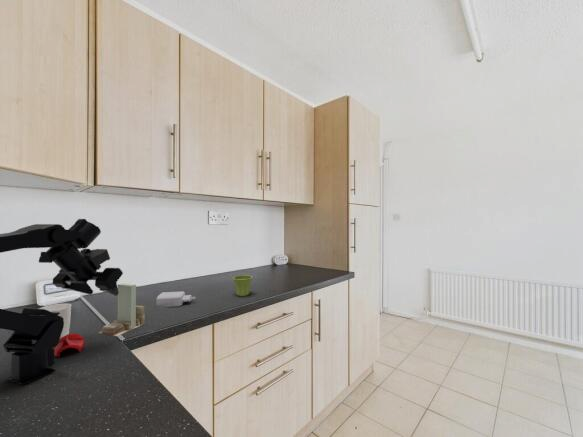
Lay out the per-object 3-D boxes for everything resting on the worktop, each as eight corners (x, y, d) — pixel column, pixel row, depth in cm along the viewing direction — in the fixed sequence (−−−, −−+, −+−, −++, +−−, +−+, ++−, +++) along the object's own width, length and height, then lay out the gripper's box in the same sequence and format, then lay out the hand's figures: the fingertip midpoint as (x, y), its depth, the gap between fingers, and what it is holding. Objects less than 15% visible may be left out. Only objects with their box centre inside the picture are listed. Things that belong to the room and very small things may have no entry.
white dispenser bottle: (194, 306, 113) (156, 308, 110) (197, 300, 122) (162, 302, 119) (194, 295, 113) (156, 297, 110) (197, 289, 122) (162, 291, 119)
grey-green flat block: (131, 328, 86) (131, 285, 86) (117, 326, 88) (117, 284, 88) (135, 326, 88) (135, 284, 88) (122, 324, 90) (122, 283, 90)
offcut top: (113, 331, 81) (113, 327, 81) (103, 329, 83) (103, 326, 83) (123, 326, 85) (123, 323, 85) (113, 325, 86) (113, 322, 86)
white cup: (34, 348, 75) (34, 313, 75) (39, 338, 82) (39, 306, 82) (69, 341, 80) (70, 308, 80) (72, 332, 86) (72, 301, 86)
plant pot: (254, 296, 127) (254, 278, 127) (234, 298, 124) (234, 279, 124) (250, 291, 136) (250, 274, 136) (231, 293, 132) (231, 276, 132)
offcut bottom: (113, 335, 81) (113, 331, 81) (101, 333, 83) (101, 329, 83) (125, 330, 85) (125, 326, 85) (113, 328, 86) (113, 324, 86)
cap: (89, 344, 71) (89, 326, 75) (61, 344, 67) (64, 325, 71) (75, 365, 72) (76, 346, 76) (47, 366, 68) (50, 347, 72)
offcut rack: (116, 340, 80) (116, 316, 81) (97, 336, 83) (97, 313, 83) (144, 327, 90) (144, 306, 90) (127, 324, 93) (127, 304, 93)
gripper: (119, 240, 76) (145, 273, 86) (65, 239, 79) (96, 272, 89) (92, 270, 68) (124, 304, 78) (34, 269, 71) (71, 301, 81)
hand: (104, 293), depth 82 cm, fingers open, 9 cm apart
